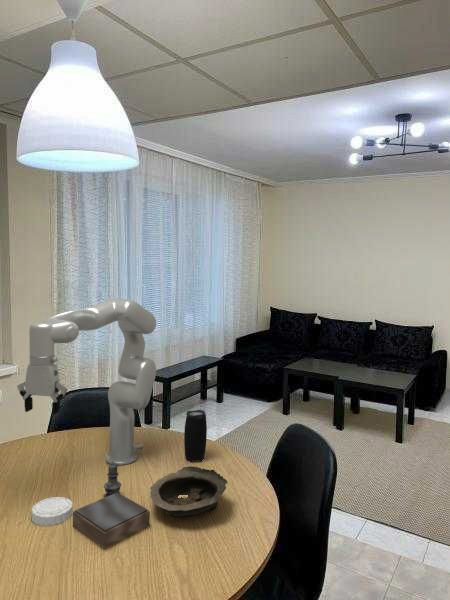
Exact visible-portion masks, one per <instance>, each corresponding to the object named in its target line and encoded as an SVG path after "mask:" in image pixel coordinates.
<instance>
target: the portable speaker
mask: <svg viewBox="0 0 450 600" xmlns="http://www.w3.org/2000/svg"><path fill="white" fill-rule="evenodd" d="M185 415H186V416H185V423H184V432H183V433H184V438H183V439H184V440H183V444H184V457H185V460H186V462H188V461H190V462H189V463H193V462H195V461H199V462H203V461H204V460H205V456H206V450H207V449H206V447H207V437H208V436H207V431H208V426H207V415H206V412H205V410H202V409H196V410H187V411H186V414H185ZM203 459H204V460H203ZM202 460H203V461H202Z"/></svg>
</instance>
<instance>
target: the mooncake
mask: <svg viewBox="0 0 450 600" xmlns="http://www.w3.org/2000/svg"><path fill="white" fill-rule="evenodd" d="M73 508H74V503H73V501H72V500H71V499H69V498H68V497H67V498H65V497H63V496H56V497H54V496H51V497H48V498H46V497H45V498H44V499H42V500H40V501H38V502H35V504H34V505H33V506H32V507H31V517H30V518H31V520H32V521H31V522H32V523H34V524H35V525H38V526H41V527H42V526H44V527H49V526H51V527H52V526H55V525H60V524H62V523H65V522H67V520H69V519H71V517H73V511H74V509H73Z"/></svg>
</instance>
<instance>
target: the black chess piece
mask: <svg viewBox="0 0 450 600" xmlns="http://www.w3.org/2000/svg"><path fill="white" fill-rule="evenodd" d="M106 475H107V482H105V483H104V485H103V488H104V491H105V493H104V495H103V496H104V497H103V498H105V497H107V496H110V495H112V494H115V493H117V492H118V493H120V490H121V487H122V483H121V482H120V481H118V475H119V473H118V465H117V464H115V463H114V461H112V463H111V464H110V463H109V464H108V472H107V474H106Z"/></svg>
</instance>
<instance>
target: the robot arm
mask: <svg viewBox="0 0 450 600" xmlns="http://www.w3.org/2000/svg"><path fill="white" fill-rule="evenodd" d="M114 322H117V324H118V325H117V326H118V327H119V329H120V331H121V332H122V335H123V338H124V344H123V349H122V353H121V357H120V361H119V365H118V374H119V375H120V377H122V378H125V379H127V380H132V381H133V380H134V381H135V382H134V383H133V382H128V381H125V380H124V381H123V380H122V381H115V382H113V383H112V384H111V385H110V386H109V388H108V391H107V399H108V404H109V417H110V418H109V452H108V453H107V454H106V456H104V457H105V462H106V463H108V464H109V465H110V464H111V463H112V461H114V463H115V464H117V466H123V465H124V466H125V465H129V464H132V463H134V462H136V461H137V459H138V454H137V452H138V451H139V450H142V449H143V448H144V445H143V444H138V445H137V444H136V443H135V411H134V410H137V411H138V410H139V411H140V410H143V409H145V408H146V407H147V406H148V404H149V402H150V401H151V396H152V392H153V388H154V384H155V381H156V380H155V379H156V375H157V365H156V363H155V361H154V360H153V359H151V358H149V357H144V354H145V348H146V341H145V337H144V336H143V335H150V334H152V333H153V332H154V331H155V329H156V327H157V320H156V317H155V315H154V314H153V313H151V311H149V310H148V309H146V308H145V307H143V305H141V304H140V303H138V302H137V301H135V300H132V299H123V298H110V299H109V300H105V301H103V302H100V303H97V304H95V305H92V306H88V307H85V308H81V309H75V310H71V311H66V312H61V313H59V314H55V315H53V316H50V317H48V318H45V319H44V320H43V321H42V322H41V321H40V322H34V323H32V324H30V325H29V329H28V330H29V332H28V333H29V363H28V365H27V368H26V373H25V381H24V382H21V383H20V384H17V390H18V391H19V395H20V396H21V397H22V400H24V412H26V413H28V412H30V411H31V410H33V409H34V407H33V406H34V405H33V403H34V402H33V397H32V396H42V397H50V398H51V399H52V401H53V402H52V403H51V413H52V415H56V414H57V413H59V412H60V409H61V400H63V398H64V397H65V396H66V394H67V391H68V388H67V387H66V386H64V385H63V384H61V380H60V373H59V368H58V367H59V366H58V364H57V363H58V357H56V355H55V344H69V343H72V342H74V341H75V340H77V339H78V337H79V335H80V334H79V333H80V332H82V331H85V332H86V331H93V330H94V331H95V330H99V329H101V328H103V327H105V326H107V325H111V324H112V323H114ZM134 443H135V444H134Z"/></svg>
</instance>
